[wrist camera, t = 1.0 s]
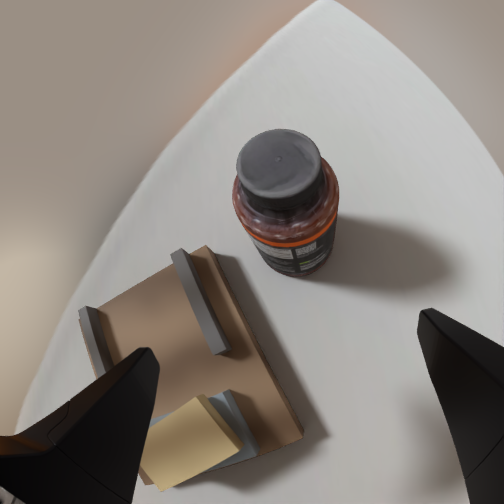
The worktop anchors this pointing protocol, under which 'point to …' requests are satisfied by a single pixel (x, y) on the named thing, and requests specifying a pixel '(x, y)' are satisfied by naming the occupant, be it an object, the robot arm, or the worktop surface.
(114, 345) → the shelf board
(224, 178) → the worktop surface
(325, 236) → the supplement bottle
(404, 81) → the worktop surface
